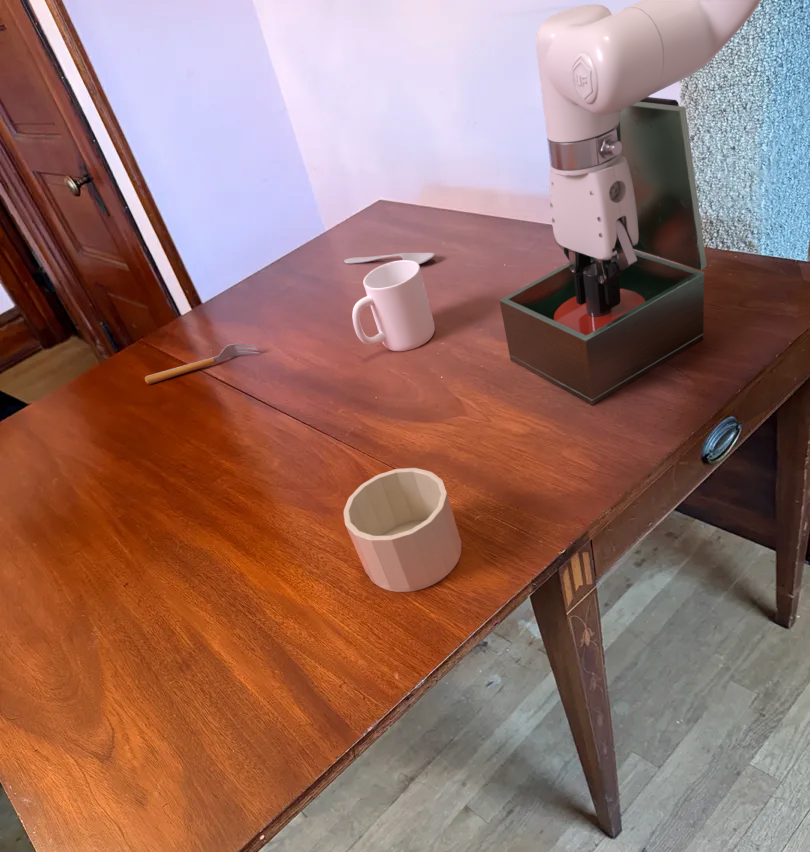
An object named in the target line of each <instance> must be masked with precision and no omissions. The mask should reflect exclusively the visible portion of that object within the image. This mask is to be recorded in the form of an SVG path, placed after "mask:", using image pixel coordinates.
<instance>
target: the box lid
mask: <svg viewBox="0 0 810 852" xmlns="http://www.w3.org/2000/svg"><path fill="white" fill-rule="evenodd" d="M619 116H620V132H621V143H622V155H621V156H624V157H626V159H627V162H628V166H629V169H630V174H631V178H632V183H633V188H634V195H635V202H636V210H637V220H638V243H637V245H635V246H632V247H633V250H634V251H637V252H640V253H644V254H647V255H650V256H653V257H656V258H660V259H663V260H666V261H669V262H672V263H675V264H679V265H682V266H685V267H688V268H691V269H695V270H698V271H703V270H704V269H706V268H707V258H706V251H705V244H704V235H703V227H702V220H701V214H700V206H699V205H700V204H699V198H698V190H697V183H696V176H695V168H694V162H693V155H692V147H691V146H692V145H691V140H690V131H689V123H688V116H687V109H686V106H682V105H681V106H680V104H679V102H678V100H676V99H672V98H671V99H670V98H663V97H662V98H661V97H652V96H649V97H647V98H645V99H643V100H641V101H639V102H637V103H635V104H633V105H631V106H629V107H627V108H625V109H623V110H620V111H619Z"/></svg>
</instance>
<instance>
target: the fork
mask: <svg viewBox="0 0 810 852" xmlns="http://www.w3.org/2000/svg"><path fill="white" fill-rule="evenodd" d="M256 347H257V345H256V344H248V343H230V344H227V345H226V346H225V347H224V348H223V349H222V351H221V352H220V353H219V355H216V356H213V357H209V358H205V359H202V360H198V361H195V362H191V363H188V364H184V365H180V366H177V367H173V368H170V369H166V370H163V371H159V372H156V373H155V372H154V373H153V374H149V375H146V376H145V377H144V381H145V383H146V384H148V385H152V384H155V383H158V382H162V381H165V380H168V379H170V378H174V377H177V376H181V375H183V374H186V373H189V372H192V371H196V370H198V369H202V368H204V367H208V366H210V365H213V364H217V363H220V362H222V361H225V360H227V359H229V358H235V357H239V356H243V355H252V354H253V355H260V354H261V352H258V351H259V349H258V348H256ZM256 351H257V352H256Z"/></svg>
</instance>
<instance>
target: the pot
mask: <svg viewBox="0 0 810 852" xmlns="http://www.w3.org/2000/svg"><path fill="white" fill-rule="evenodd" d="M342 512H343V519H344V525H345V528H346V530H347V532H348V535H349V537H350V539H351V542H352V544H353V546H354V549H355V551H356V553H357V555H358V557H359V558H358V559H359V560H360V562H361V566H362V567H363V569H364V571H365V574H366V575H367V576H368V578H369V580H371V582H373V584H374V585H376V586H377V587H379V588H381V589H382V590H385V591H390V592H395V593H409V592H410V593H411V592H416V591H421V590H424V589H426V588H429V587H432V586H433V585H436V584H437V583H439V582H440V581H441V580H443V579H444V578H446V577H447V576H448V575H449V574H451V572H452V571H453V570H454V568H456V565H457V564H458V562H459V560H460V558H461V555H462V549H463V548H462V540H461V536H460V533H459V530H458V526H457V523H456V519H455V516H454V512H453V509H452V505H451V503H450V498H449V494H448V492H447V489H446V485H445V483H444V480H443V479H442V478H441V477H439V476H438V475H436V473H434V472H433V471H429V470H427V469H422V468H419V467H407V468H395V469H392V470H389V471H386V472H382V473H380V474H379V473H378V474H376V475H375V476H373V477H371V478H370V479H368V480H367V481H365V482H363V483H362V484H360V485H359V486H358V487H357V488H356V490H354V491H353V493H351V495H350V496H349V497H348V499H347V501H346V504H345V506H344V509H343V511H342Z"/></svg>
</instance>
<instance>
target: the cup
mask: <svg viewBox="0 0 810 852" xmlns="http://www.w3.org/2000/svg"><path fill="white" fill-rule="evenodd" d="M362 283H363V287H364V290H365V293H366V296H364V297H362V298H360V299H359V300H358V301H357V302H356V303H355V304H354V306H353V308H352V315H351V316H352V324H353V329H354V332H355V334H356V336H357V338H358V339H359V340H360V342H362V343H363V344H364V345H367V346H375V345H378V344H381V343H382V345H383V346H384V347H385V348H386V349H387V350H390V351H393V352H406V351H411V350H414V349H417V348H419V347H422V346H423V345H425V344H426V343H427V342H429V341H430V340H431V339H432V337H433V336H434V334H435V331H436V330H435V329H436V327H435V321H434V318H433V317H434V316H433V314H432V309H431V306H430V301H429V298H428V294H427V290H426V285H425V282H424V279H423V275H422V271H421V266H420V264H418V263H417V262H415V261H411V260H403V259H402V260H401V259H399V260H394V261H390V262H386V263H384V264H381V265H380V266H377V267H375V268H373V269H372V270H371V271H369V272H368V273H367V274H366V275H365V276H364V277H363V281H362ZM369 306H370V309H371V313H372V315H373V319H374V321H375V325H376V328H377V332H378V334H375V335H373V336H368V335H366V333H365V331H364V329H363V327H362V323H361V322H362V321H361V312H362V310H363V309H364V308H367V307H369Z"/></svg>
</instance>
